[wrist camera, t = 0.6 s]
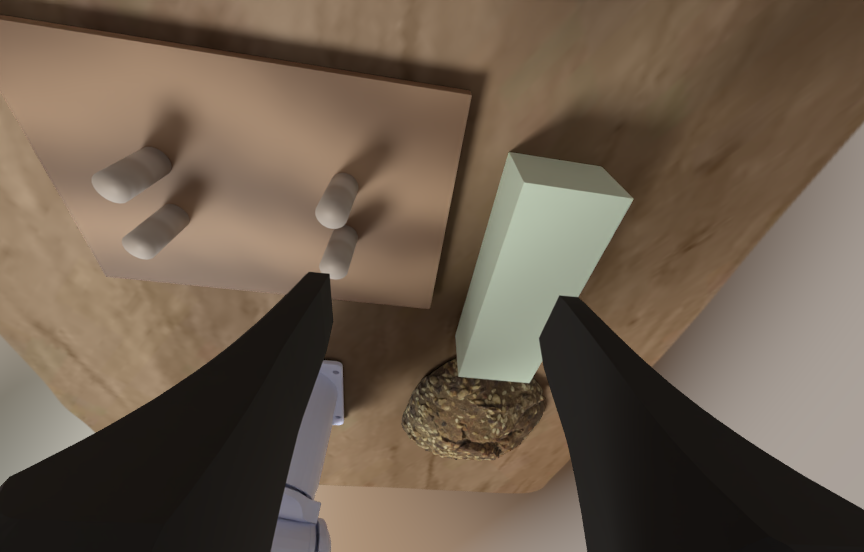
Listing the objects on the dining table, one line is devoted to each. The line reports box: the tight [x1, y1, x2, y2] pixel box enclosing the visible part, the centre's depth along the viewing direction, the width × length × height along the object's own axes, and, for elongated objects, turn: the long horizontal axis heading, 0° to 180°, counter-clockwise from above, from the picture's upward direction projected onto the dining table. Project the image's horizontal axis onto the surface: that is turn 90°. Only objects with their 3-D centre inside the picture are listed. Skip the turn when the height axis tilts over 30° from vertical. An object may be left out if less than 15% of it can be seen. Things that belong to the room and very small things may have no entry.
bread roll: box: [401, 358, 545, 461], centre depth 30 cm, size 13×12×5 cm
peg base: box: [0, 15, 472, 309], centre depth 17 cm, size 13×20×4 cm, turn 82°
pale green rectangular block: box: [455, 152, 633, 383], centre depth 21 cm, size 14×5×4 cm, turn 171°
